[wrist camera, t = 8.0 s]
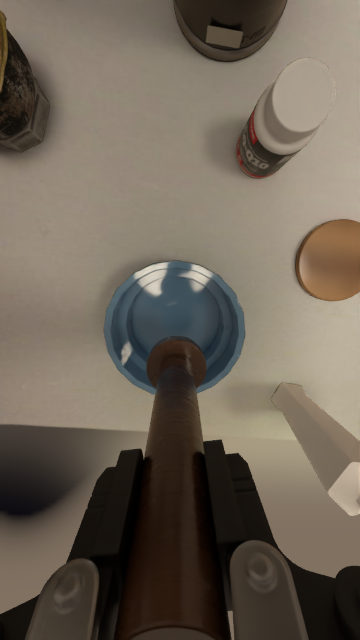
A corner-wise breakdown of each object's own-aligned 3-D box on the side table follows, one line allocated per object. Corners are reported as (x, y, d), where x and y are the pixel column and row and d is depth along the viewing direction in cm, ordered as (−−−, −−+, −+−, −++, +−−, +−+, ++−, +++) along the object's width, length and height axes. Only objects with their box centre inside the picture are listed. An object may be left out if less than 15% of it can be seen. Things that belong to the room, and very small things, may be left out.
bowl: (109, 269, 26) (91, 271, 21) (227, 254, 26) (239, 252, 21) (129, 377, 29) (117, 404, 24) (236, 365, 29) (249, 388, 23)
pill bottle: (225, 145, 24) (250, 84, 16) (268, 111, 23) (317, 29, 15) (252, 190, 25) (290, 154, 16) (295, 158, 24) (355, 104, 16)
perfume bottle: (294, 421, 30) (402, 569, 16) (263, 405, 30) (344, 543, 15) (316, 390, 29) (452, 516, 15) (284, 373, 29) (393, 487, 14)
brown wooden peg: (143, 339, 19) (29, 597, 4) (201, 332, 19) (284, 571, 4) (152, 391, 20) (82, 749, 5) (207, 385, 20) (291, 730, 5)
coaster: (294, 225, 25) (297, 224, 25) (375, 215, 25) (381, 213, 24) (296, 304, 27) (299, 305, 26) (371, 295, 27) (377, 296, 26)
